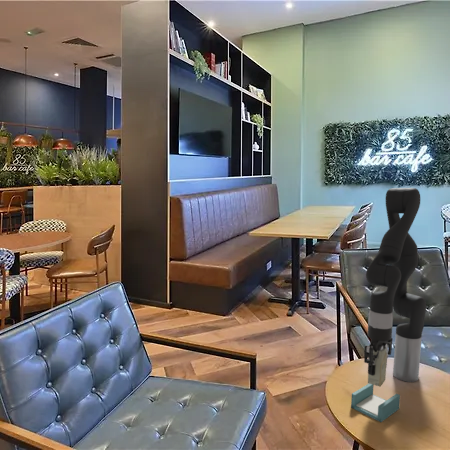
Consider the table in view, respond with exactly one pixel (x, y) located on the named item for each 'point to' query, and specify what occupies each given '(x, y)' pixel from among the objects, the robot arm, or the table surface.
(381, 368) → the skincare box
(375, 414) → the u rest
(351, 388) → the table surface
